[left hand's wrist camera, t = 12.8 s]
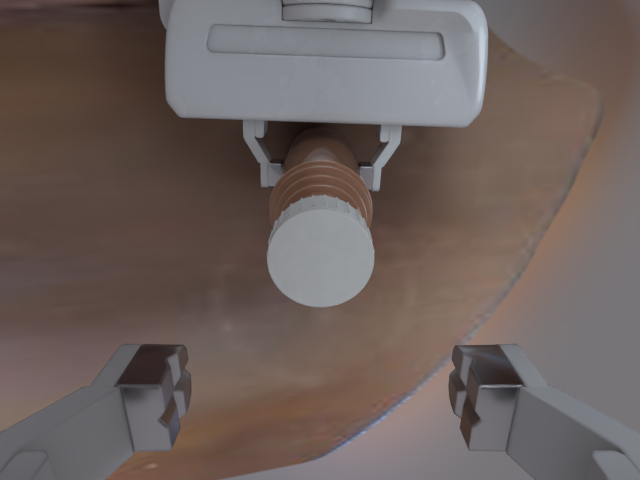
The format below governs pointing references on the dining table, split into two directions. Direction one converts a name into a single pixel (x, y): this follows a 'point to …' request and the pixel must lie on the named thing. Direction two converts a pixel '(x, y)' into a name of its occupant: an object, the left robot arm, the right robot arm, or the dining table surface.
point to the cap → (320, 252)
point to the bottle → (320, 173)
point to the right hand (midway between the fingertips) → (320, 187)
